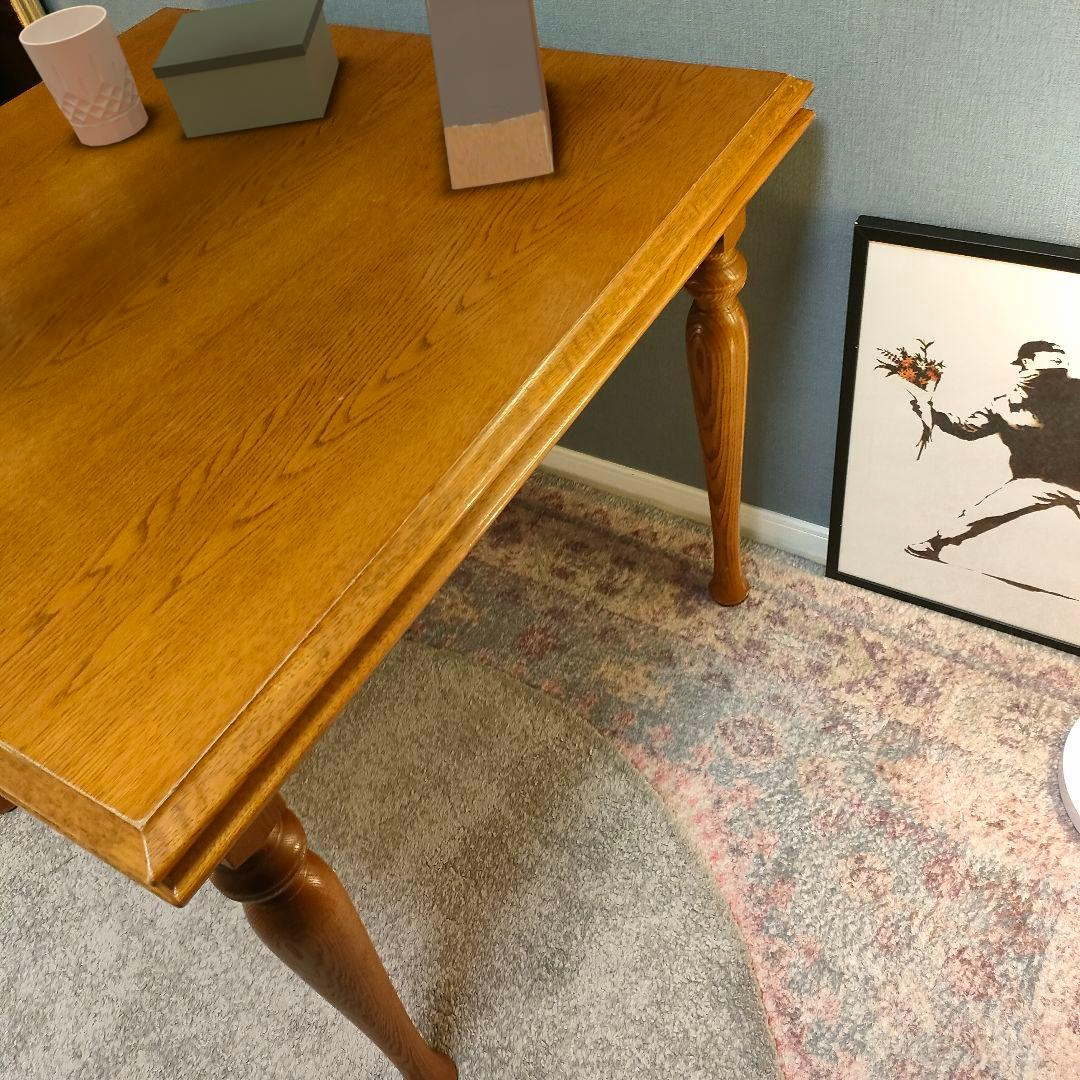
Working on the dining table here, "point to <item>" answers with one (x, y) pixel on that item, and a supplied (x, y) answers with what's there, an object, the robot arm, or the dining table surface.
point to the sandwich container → (490, 90)
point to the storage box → (248, 66)
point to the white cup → (86, 73)
